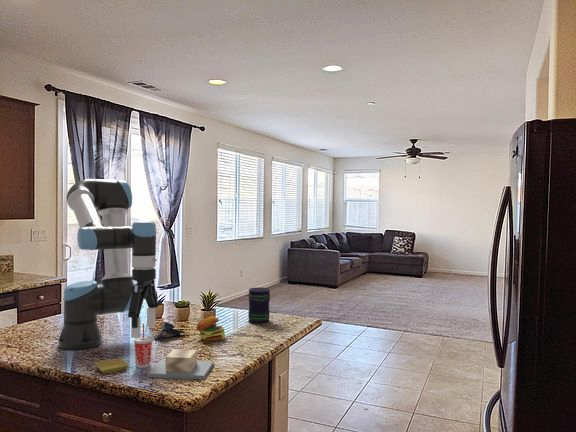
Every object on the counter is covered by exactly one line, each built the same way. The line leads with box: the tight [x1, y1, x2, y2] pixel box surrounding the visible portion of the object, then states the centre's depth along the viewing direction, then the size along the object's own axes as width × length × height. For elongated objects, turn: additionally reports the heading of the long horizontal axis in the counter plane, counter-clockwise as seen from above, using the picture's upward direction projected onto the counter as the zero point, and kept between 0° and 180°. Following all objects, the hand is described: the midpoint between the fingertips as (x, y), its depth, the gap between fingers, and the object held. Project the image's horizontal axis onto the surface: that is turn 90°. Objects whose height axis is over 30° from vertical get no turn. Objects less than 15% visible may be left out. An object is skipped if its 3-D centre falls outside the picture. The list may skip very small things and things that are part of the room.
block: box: [164, 348, 198, 372], centre depth 151 cm, size 8×8×4 cm
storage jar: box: [247, 287, 271, 325], centre depth 215 cm, size 10×10×15 cm
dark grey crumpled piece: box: [152, 321, 186, 340], centre depth 190 cm, size 12×7×12 cm
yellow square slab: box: [94, 357, 129, 375], centre depth 152 cm, size 9×9×2 cm
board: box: [146, 359, 214, 380], centre depth 151 cm, size 18×13×1 cm
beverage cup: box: [133, 323, 154, 369], centre depth 156 cm, size 6×6×14 cm
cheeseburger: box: [196, 315, 226, 342], centre depth 188 cm, size 10×11×10 cm
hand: (143, 332), depth 155 cm, fingers open, 13 cm apart
